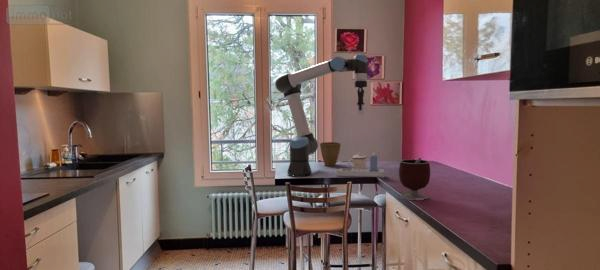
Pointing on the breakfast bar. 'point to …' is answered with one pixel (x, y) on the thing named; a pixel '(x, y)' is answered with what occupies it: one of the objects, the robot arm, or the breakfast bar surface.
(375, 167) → the plug
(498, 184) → the breakfast bar surface
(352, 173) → the panel
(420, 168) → the mate gourd
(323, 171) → the breakfast bar surface
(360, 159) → the teacup with lid
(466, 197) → the breakfast bar surface
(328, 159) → the plant pot
